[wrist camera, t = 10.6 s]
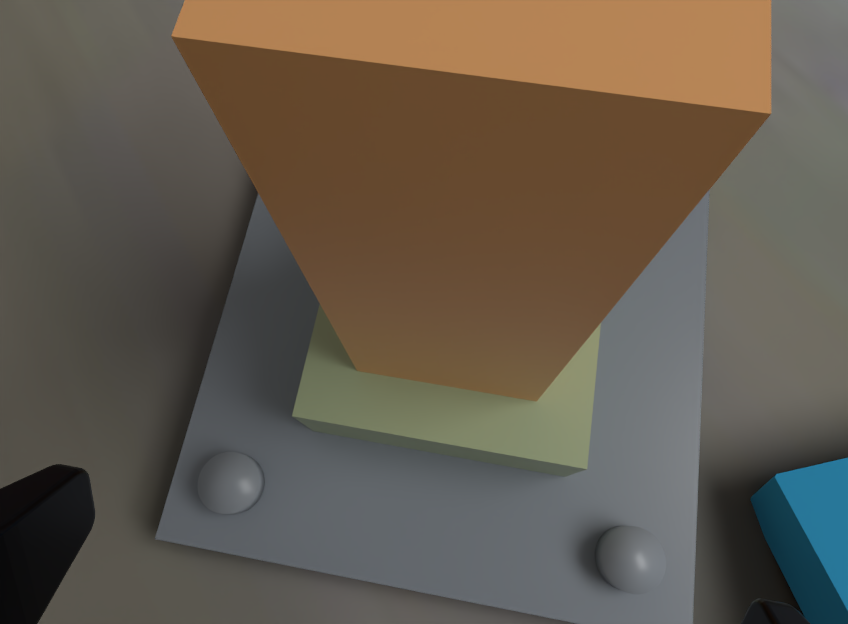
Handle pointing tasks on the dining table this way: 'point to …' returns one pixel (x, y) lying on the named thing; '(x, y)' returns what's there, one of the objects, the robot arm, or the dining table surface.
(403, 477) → the tower base
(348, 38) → the orange brick
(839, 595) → the blue long block
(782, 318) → the dining table surface
